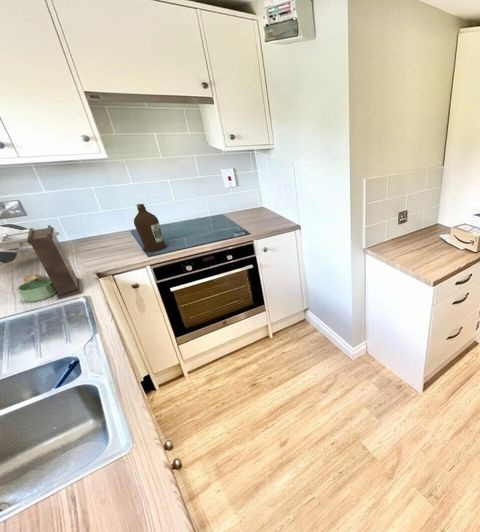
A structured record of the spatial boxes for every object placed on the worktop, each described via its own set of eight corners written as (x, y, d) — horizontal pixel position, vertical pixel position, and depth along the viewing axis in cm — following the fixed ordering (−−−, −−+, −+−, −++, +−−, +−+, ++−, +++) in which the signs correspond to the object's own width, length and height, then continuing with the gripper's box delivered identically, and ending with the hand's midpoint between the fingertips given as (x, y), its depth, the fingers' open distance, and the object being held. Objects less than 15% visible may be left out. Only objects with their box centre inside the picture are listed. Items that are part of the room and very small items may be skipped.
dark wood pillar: (58, 299, 133) (25, 238, 120) (59, 285, 142) (28, 227, 130) (81, 293, 137) (51, 234, 125) (80, 279, 147) (52, 224, 134)
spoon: (24, 282, 129) (21, 277, 128) (38, 279, 147) (36, 275, 146) (36, 278, 131) (34, 274, 130) (49, 277, 149) (47, 273, 148)
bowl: (22, 305, 128) (15, 293, 126) (24, 294, 135) (18, 283, 132) (58, 296, 135) (52, 285, 132) (59, 286, 141) (53, 275, 139)
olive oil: (139, 252, 174) (122, 207, 163) (151, 244, 183) (135, 201, 172) (160, 251, 175) (144, 207, 163) (170, 244, 184) (156, 201, 173)
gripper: (63, 240, 157) (56, 234, 146) (0, 251, 144) (-13, 245, 133) (57, 228, 156) (50, 221, 145) (-6, 238, 144) (-19, 231, 133)
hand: (19, 232), depth 139 cm, fingers open, 8 cm apart
